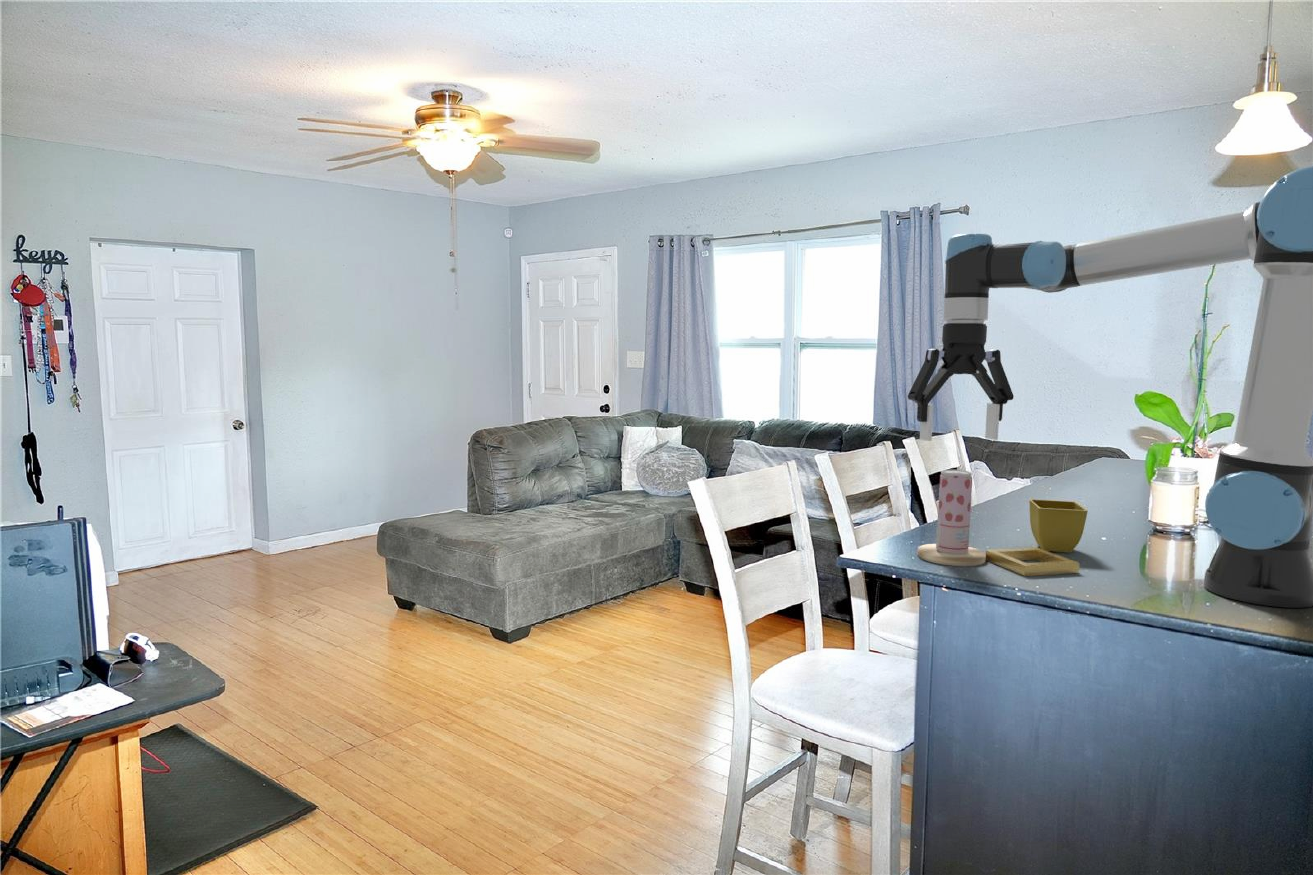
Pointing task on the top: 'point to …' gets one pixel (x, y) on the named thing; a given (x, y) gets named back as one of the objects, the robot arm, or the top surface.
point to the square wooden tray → (1046, 566)
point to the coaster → (951, 556)
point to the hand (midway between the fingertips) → (958, 439)
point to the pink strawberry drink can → (954, 512)
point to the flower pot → (1057, 524)
